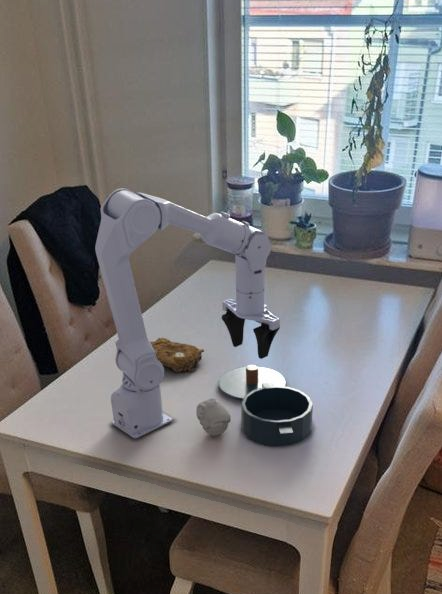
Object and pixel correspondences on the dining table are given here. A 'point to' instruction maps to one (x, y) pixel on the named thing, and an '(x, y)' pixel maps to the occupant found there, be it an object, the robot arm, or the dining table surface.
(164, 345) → the decorative rock
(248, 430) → the pan
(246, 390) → the pan lid
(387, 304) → the dining table surface
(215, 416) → the grey lumpy piece
